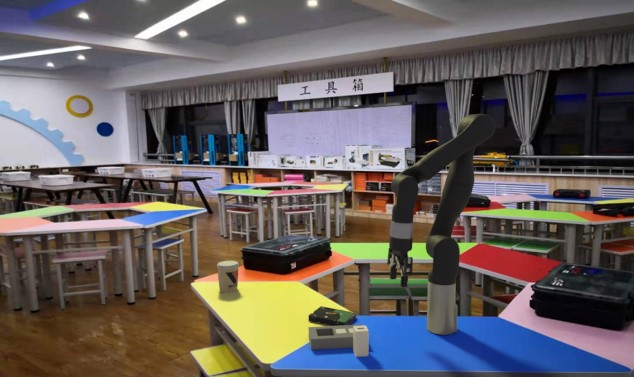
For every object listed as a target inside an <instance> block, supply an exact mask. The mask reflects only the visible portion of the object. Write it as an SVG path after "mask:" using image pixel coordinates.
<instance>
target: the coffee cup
mask: <svg viewBox="0 0 634 377" xmlns="http://www.w3.org/2000/svg"><path fill="white" fill-rule="evenodd" d="M239 265H240V264H239V262H238V261H236V260H223V261H219V262H218V263H217V264H216V267H217V279H218V285H219V286H218V287H219V291H220V292H221V293H233V292H236V291H238V286H239V284H238V283H239V282H238V280H239Z"/></svg>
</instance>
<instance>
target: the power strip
mask: <svg viewBox="0 0 634 377" xmlns="http://www.w3.org/2000/svg"><path fill="white" fill-rule="evenodd" d="M353 326H363V325H362V324H350V325H341V326H330V325H325V326H311V327H310V326H309V327H308V341H309V345H310V351H312V350H313V351H314V350H315V351H316V350H329V349H330V350H331V349H332V350H333V349H348V348H349V349H353Z"/></svg>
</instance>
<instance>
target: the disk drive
mask: <svg viewBox="0 0 634 377" xmlns="http://www.w3.org/2000/svg"><path fill="white" fill-rule="evenodd" d="M356 319H357V314H356V312H353V311H347V310H342V309H338V308H333V307H327V306H319V307H318V308H317V309H315V310H314V311H313V312H312V313H310V314H308V322H311V321H312V322H311V323H317V324H321V325H325V326H341V325H352V323H353V322H354V321H355V320H356Z"/></svg>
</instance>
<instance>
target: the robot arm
mask: <svg viewBox="0 0 634 377" xmlns="http://www.w3.org/2000/svg"><path fill="white" fill-rule="evenodd" d="M495 131H496V121H495V119H494V118H493V117H492V116H491V115H489V114H485V113H475V114H468V115H466V116H464V117H462V119H461V120H460V122H459V124H458V127H457V131H456V132H457V133H456V136H455V137H454V138H452V139H451V140H449V141H447V142H445V143H443V144H442V145H439V146H438V147H436V148H434V149H433V150H431V151H429V152H428V153H427V154H426V155H424V156H423V157H422V158H420V159H419V160H418V161H417V162H416V163H414V164H412V165H410V166H409V167H408V168H406V169H404V170H403V171H401V172H400V173H398V174H397V175H395V177H394V178H392V180H391V183H390V187H391V191H392V192H393V193H394V194H395V195H396V196H397V198H396V203H395V204H393V206H392V210H391V221H390V222H391V223H390V229H389V242H388V247H389V248H388V252H387V263H386V264H387V265H388V266H389V267H388V268H389V279H390V280H397V276H398V270H399V271H400V274H401V275H400V284H399V285H400V287H401V288H408V284H409V276H410V277H411V276H413V260H414V259H413V258H414V257H412V256H409V252H410V251H411V252H412V250H413V244H414V243H413V240H414V239H413V238H414V213H415V212H414V211H415V207H416V204H417V201H418V197H419V191H420V189H419V187H420V186H419V184H421V183H423V182H427V181H429V180H431V179H432V178H434V177H435V176H436V175H438V174H439V173H440V172H441V171H442V170H444V169H445V168H446V167H448V165H449V168H448V171H447V176H446V178H445V181H444V185H443V188H442V192H441V197H440V199H439V200H440V201H439V203H438V208H437V211H436V215H435V217H434V218H435V219H434V221H433V224H432V226H431V228H430V231H429V233H428V236H427V238H426V242H425V252H426V253H427V254H428V256H429V257H430V258H432V269H431V270H430V271H428V274H427V304H426V305H427V306H426V308H427V309H426V310H427V311H426V313H427V314H426V329H427V330H428V332H430V333H432V334H435V335H442V336H443V335H444V336H447V335H451V334H453V333H457V332H458V331H457V330H458V304H457V303H456V290H457V289H456V286H457V285H456V282H457V281H456V280H457V277H458V275H459V270H460V259H461V258H460V256H461V253H460V252H461V250H460V246H459V243H458V241H456V240H455V239H454V238H453V237H452V235H453V230H454V228H455V224H456V222H457V219H458V218H459V217H460V216H461V214H462V212H463V211H464V210H465V208H466V207H467V206H468V203H469V201H470V199H471V197H472V192H473V189H474V186H475V170H474V169H475V168H474V156H475V155H474V154H475V151H476V148H477V146H479V145H481V144H482V143H485V142H486V141H487V140H489V139H491V137H492V136H493V135H494V133H495Z"/></svg>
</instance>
